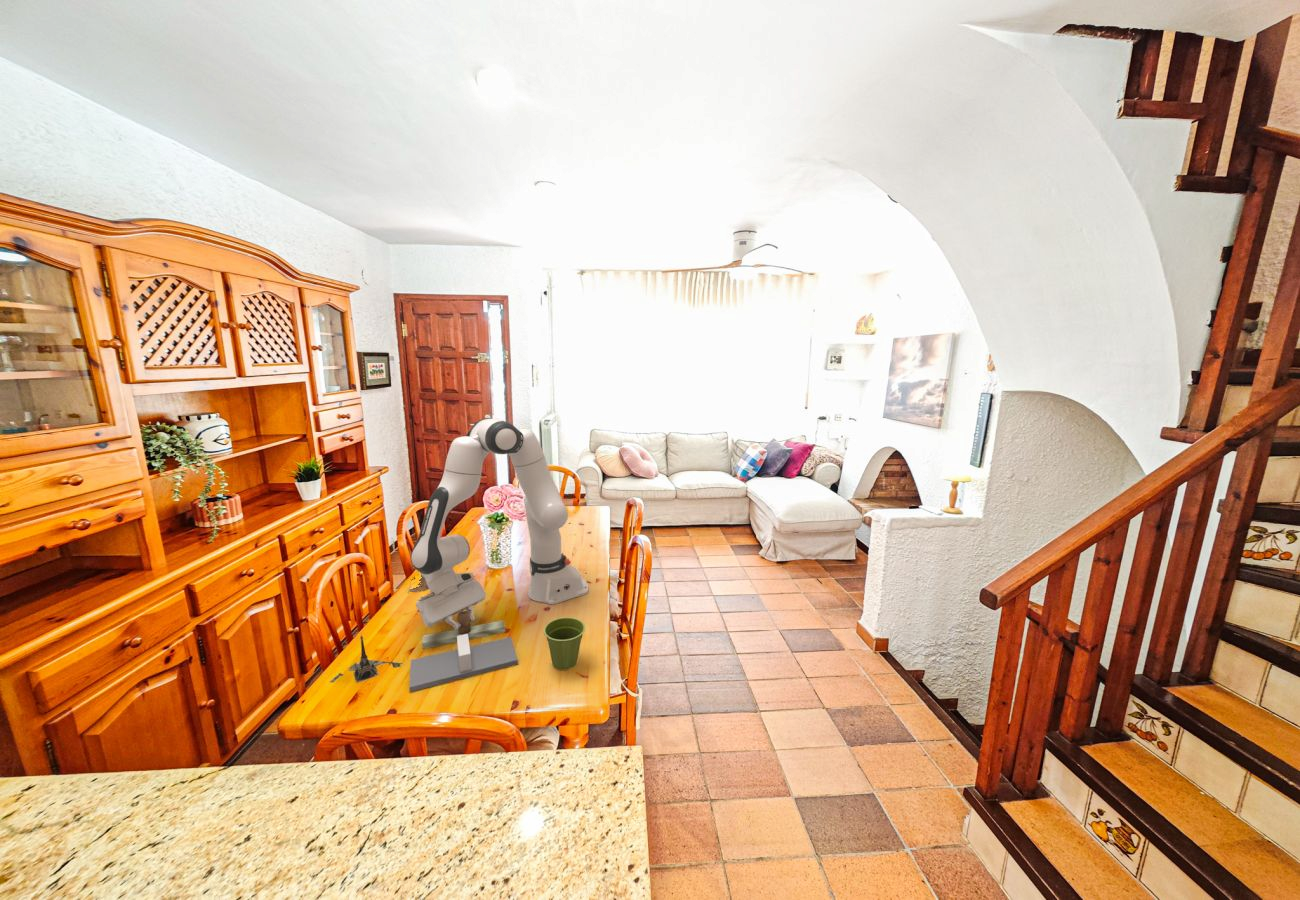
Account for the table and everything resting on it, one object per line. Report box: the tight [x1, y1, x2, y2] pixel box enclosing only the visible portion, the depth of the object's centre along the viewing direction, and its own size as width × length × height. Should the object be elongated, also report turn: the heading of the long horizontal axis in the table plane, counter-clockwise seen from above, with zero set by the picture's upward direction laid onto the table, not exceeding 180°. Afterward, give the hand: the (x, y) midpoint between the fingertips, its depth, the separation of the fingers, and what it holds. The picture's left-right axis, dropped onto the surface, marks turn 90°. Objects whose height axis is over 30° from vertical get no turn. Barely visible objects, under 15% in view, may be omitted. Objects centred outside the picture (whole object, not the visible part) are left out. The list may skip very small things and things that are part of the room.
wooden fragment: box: [407, 575, 429, 593], centre depth 183 cm, size 26×11×1 cm, turn 173°
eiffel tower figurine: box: [329, 634, 404, 684], centre depth 127 cm, size 15×10×13 cm
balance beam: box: [421, 610, 506, 650], centre depth 145 cm, size 24×4×8 cm, turn 113°
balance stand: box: [408, 634, 519, 693], centre depth 132 cm, size 28×12×6 cm, turn 115°
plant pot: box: [543, 616, 586, 671], centre depth 134 cm, size 12×12×11 cm
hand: (465, 624), depth 145 cm, fingers closed on balance beam, 3 cm apart
